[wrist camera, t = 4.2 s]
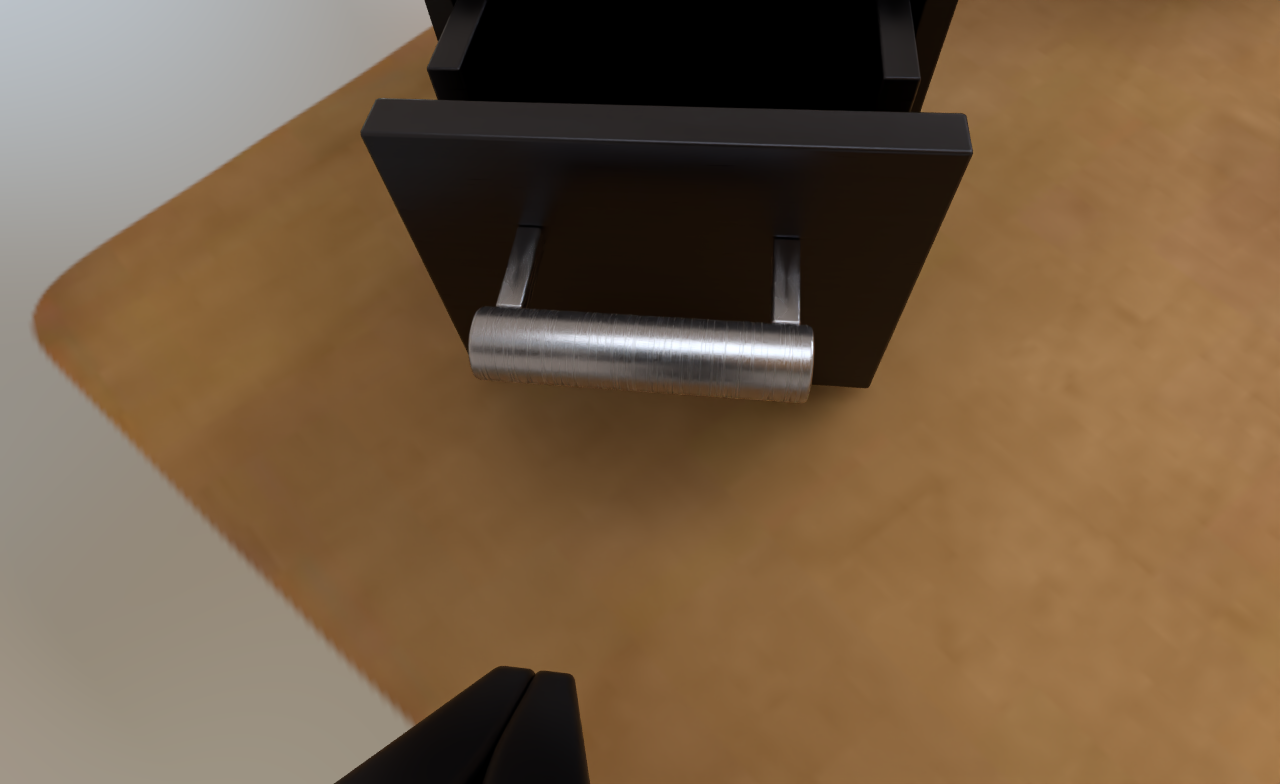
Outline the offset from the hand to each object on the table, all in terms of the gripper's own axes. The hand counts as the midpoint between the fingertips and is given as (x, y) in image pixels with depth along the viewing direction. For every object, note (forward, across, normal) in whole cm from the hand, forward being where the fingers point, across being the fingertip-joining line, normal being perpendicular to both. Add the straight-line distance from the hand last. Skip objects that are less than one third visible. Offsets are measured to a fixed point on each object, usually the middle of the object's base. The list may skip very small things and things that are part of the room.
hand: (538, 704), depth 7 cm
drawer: (+18, 0, -4) cm, 19 cm away
